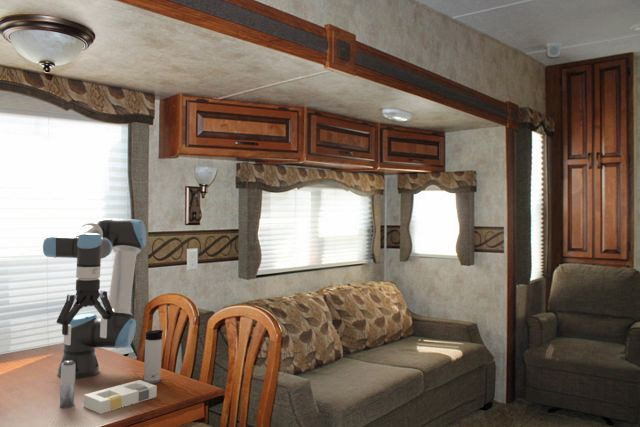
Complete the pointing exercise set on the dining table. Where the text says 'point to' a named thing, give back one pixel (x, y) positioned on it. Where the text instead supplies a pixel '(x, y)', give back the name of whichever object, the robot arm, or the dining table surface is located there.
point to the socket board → (119, 396)
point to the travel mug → (153, 356)
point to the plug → (67, 384)
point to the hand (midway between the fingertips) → (85, 341)
